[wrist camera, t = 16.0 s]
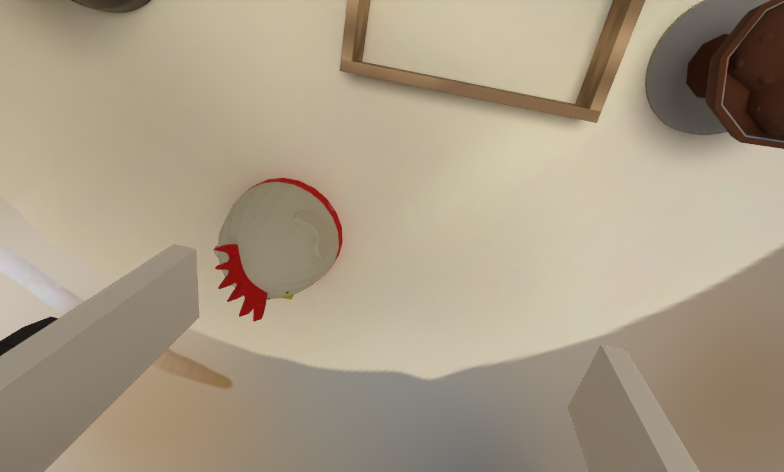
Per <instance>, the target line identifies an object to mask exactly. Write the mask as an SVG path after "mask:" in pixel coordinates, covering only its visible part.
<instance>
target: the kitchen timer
mask: <svg viewBox="0 0 784 472" xmlns="http://www.w3.org/2000/svg"><path fill="white" fill-rule="evenodd" d="M341 245H342V227H341V224H340V221H339V219H338V216H337V213H336V211H335V210H334V208H333V207H332V206H331V204H330V203H329V201H328V200H327V199H326V198H325V197H324V196H323V195H322V194H320V193H319V192H318V191H317V190H316V189H314V188H313V187H311V186H309V185H306V184H304V183H302V182H300V181H297V180H291V179H286V178H279V179H269V180H266V181H264V182H262V183H260V184H257V185H255V186H254V187H252V188H250V189H249V190H248V191H246V192H245V193H244V194H243V195H242V196H241V197H240V198H239V199H238V200H237V201H236V202H235V204H234V205H233V206H232V208H231V210H230V212H229V214H228V216H227V218H226V220H225V222H224V224H223V226H222V229H221V231H220V234H219V243H218V246H216V247H215V249H214V252H215V254H216V256H217V257H218V258H219V261H220V265H218V266H216V267H215V268H216V269H219V270H222V271H223V273H224V275H225V279H224V280H223V281H222V283H221V284H220V286H219V288H218V289H221V288H224V287H227V286H229V285H233V286H234V287H235V289H234V291H233V293H232V294H231V296H230V297H229V299H228V300H227V302H229V301H232V300H235V299H237V298H239V297H241V296H243V295H244V296H245V300H244V303H243V306H242V308H241V311H240V314H239V317H240V316H243V315H246V314H249V313H250V312H251V311H252V309H254V317H253V321H257V320H260V319H262V317H263V314H264V310H265V305H266V300H267V299H272V298H286V299H292V297H293V295H294V294H295V293H298V292H300V291H302V290H304V289H305V288H307V287H309V286H311V285H312V284H314V283H315V282H316V281H317V280H319V279H320V278H321V277H323V276H324V275H325V274H326V273H327V272H328V271H329V269H330V268H331V266H332V265H333V263H334V262H335V260H336V259H337V257H338V255H339V252H340V249H341Z"/></svg>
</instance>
